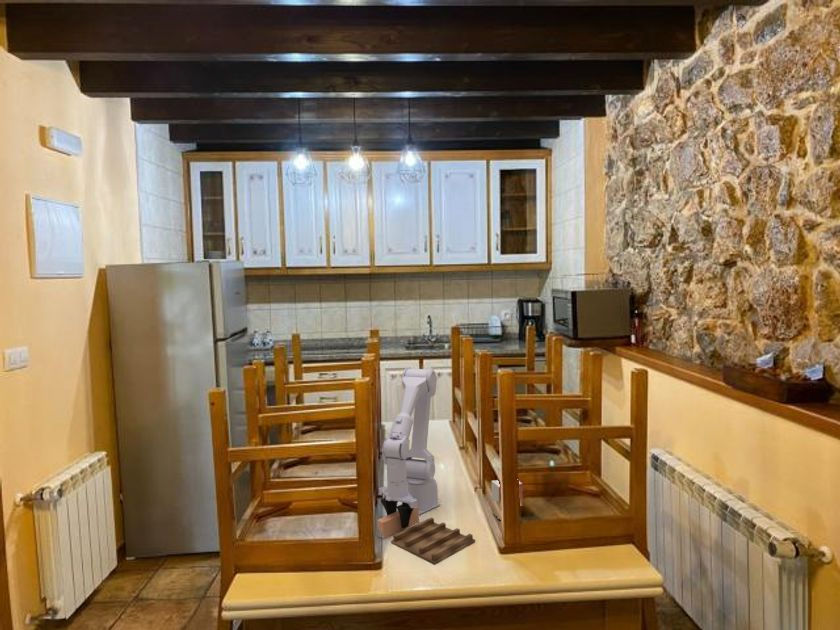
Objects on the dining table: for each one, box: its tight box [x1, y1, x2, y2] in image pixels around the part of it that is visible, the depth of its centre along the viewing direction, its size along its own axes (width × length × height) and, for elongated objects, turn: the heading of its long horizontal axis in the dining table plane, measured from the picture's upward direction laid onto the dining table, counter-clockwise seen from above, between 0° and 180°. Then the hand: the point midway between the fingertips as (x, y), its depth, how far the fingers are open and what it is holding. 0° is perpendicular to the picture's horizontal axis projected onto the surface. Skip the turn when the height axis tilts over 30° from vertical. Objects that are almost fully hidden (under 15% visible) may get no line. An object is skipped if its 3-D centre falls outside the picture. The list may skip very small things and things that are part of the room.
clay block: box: [376, 506, 420, 540], centre depth 165 cm, size 14×2×5 cm, turn 134°
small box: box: [491, 479, 524, 507], centre depth 171 cm, size 8×6×10 cm
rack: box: [390, 517, 476, 566], centre depth 157 cm, size 16×17×2 cm
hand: (398, 524), depth 165 cm, fingers open, 5 cm apart
